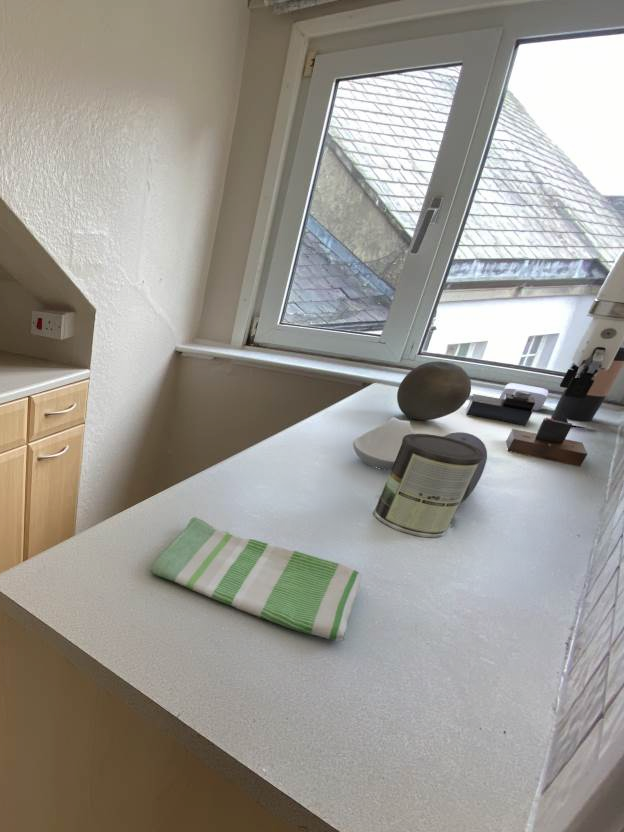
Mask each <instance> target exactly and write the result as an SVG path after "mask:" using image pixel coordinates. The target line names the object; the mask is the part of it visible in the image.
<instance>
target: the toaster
mask: <svg viewBox="0 0 624 832" xmlns="http://www.w3.org/2000/svg"><path fill="white" fill-rule="evenodd" d="M512 396H513V394H507V393H505V396H504V398H503V399H499V398H500V397H499V398H498V397H494V396H493V397H492V396H487V395H482V394H476V393H473V394H472V396H471V398H470V400H469V402H468V404H467V407H466V412H465V413H466V414H465V415H466V416H468V417H474V418H479V419H485V420H488V421H494V422H499V423H505V424H510V425H516V426H521V427H526V426H527V424H528V422H529V421H530V419H531V416H532V414H533V412H534V410H532V408H533V406H534V405H535V400H534V398H531V397H529V398H528V400H522V399H516V398H512Z"/></svg>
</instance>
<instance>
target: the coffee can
mask: <svg viewBox="0 0 624 832" xmlns="http://www.w3.org/2000/svg"><path fill="white" fill-rule="evenodd" d="M443 436H444V435H437V434H429V433H413V434H408V435H406V436H404V437H403V440H402V445H401V447H400V450H399V452H398V455H397V457H396V460H395V462H394V465H393V467H392V470H390V472H389V475H388V477H387V479H386V482H385V485H384V487H383V489H382V492H381V494H380V497H379V499H378V500H377V501H378V502H377V504H376V506H375V509H374V510H373V514H375V515H374V516H375V518H376V517H377V518H378V519H379V520H378V519H377V518H376V519H377V520H378V521H380V522H381V521H382V522H383V523H382V522H381V523H382V524H384V525H386V526H387V525H388V527H389V528H392V529H394V530H396V531H399V532H401V533H405V534H407V535H412V536H416V537H423V538H439V536H440V537H444V536H445V535H446V534H447V530H448V528H449V526H450V524H451V523H452V520H453V518H454V516H455V514H456V512H457V510H458V508H459V506H460V504H461V503H460V502H461V500H462V498H463V496H464V494H465V492H466V490H467V488H468V486H469V483H470V481H471V479H472V477H473V475H474V473H475V471H476V469H477V467H478V465H479V463H480V461H481V460H482V459H483V457H484V453H483V452H482V451H481V450H479V449H478V448H476V447H474V446H472V445H470V444H467V443H465V442H462V441H458V440H455V439H451V438H447V437H443Z"/></svg>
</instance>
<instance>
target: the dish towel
mask: <svg viewBox="0 0 624 832" xmlns="http://www.w3.org/2000/svg"><path fill="white" fill-rule="evenodd" d="M149 573H151V574H152V575H154V576H157V577H161V578H163V579H166V580H168V581H171V582H174V583H175V584H178V585H180V586H183V587H186V588H188V589H189V590H191V591H194V592H196V593H199V594H201V595H204V596H206V597H209V598H211V599H213V600H215V601H217V602H220V603H223V604H225V605H228V606H231V607H234V608H236V609H238V610H240V611H242V612H244V613H245V612H246V613H248V614H251V615H253V616H255V617H258V618H261V619H264V620H265V621H266V620H267V621H269V622H271V623H274V624H277V625H280V626H281V627H285V628H288V629H290V630H293V631H296V632H301V633H303V634H308V635H314V636H317V637H320V638H323V639H327V640H331V641H339V642H343V641H345V634H346V631H347V627H348V624H349V620H350V617H351V614H352V612H353V609H354V605H355V602H356V599H357V596H358V593H359V589H360V587H361V579H362V573H361V572H360V571H357V570H355V569H354V568H352V567H351V566H348V565H345V564H342V563H339V562H335V561H332V560H328V559H324V558H321V557H318V556H315V555H311V554H307V553H305V552H302V551H298V550H293V549H289V548H285V547H281V546H277V545H273V544H270V543H268V542H263V541H262V540H258V539H253V538H252V539H251V538H245V537H241V536H237V535H235V534H232V533H230V532H229V531H225V530H223V529H220V528H217V527H215V526H213V525H211V524H209V523H207V522H206V521H204V520H203V519H201V518H199V517H196V516H194V517H191V519H190V520H189V522H188V524H187V525H186V526H185V528H184V530H183V532H181V534H180V535H178V537H176V539H174V541H172V542H171V543H170V544H169V545H168V546H167V548H166V549H164V551H162V552H161V553H160V554H159V556H158V557H156V559H155V561H154V562H153V563H152V564H151V565H150V568H149Z"/></svg>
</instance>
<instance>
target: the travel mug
mask: <svg viewBox="0 0 624 832" xmlns="http://www.w3.org/2000/svg"><path fill="white" fill-rule="evenodd" d="M623 367H624V347H622V346H620V348H619V350H618V352H617V354H616V356H615V358H614V360H613V362H612V364H611V366H610V367H609V369H608V370H605V371H602V370H601V369H600V368H599V370H598V373H597V376H596V378H595V381H594V383H593V384H592V386H591V388H590V390H589V392H588V393H587V395H586V397H585V398H584V399H579V398H574V397H568V396H565V395H564V393H565V391H566V389H567V388H564V389H563V392H562V393H561V396H560V398H559V400H558V402H557V404H556V406H555V408H554V409H553V412H552V415H551V416H550V418H551V419H552V420H557V421H562V422H567V423H569V421H568V420H570V421H574V422H575V421H577V422H585V423H586V422H587V423H589V422H592V421H593V419H594V417H595V416H596V414H597V412H598V411H599V409H600V407H601V406H602V404H603V402H604V401H605V399H606V397H607V396H608V394H609V393H610V390H611V389H612V387H613V385H614V383H615V381H616V380H617V378H618V376H619V374H620V372H621V371H622V369H623ZM571 428H576V429H586V427H585V426H579V425H574V424H572V427H571Z"/></svg>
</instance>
